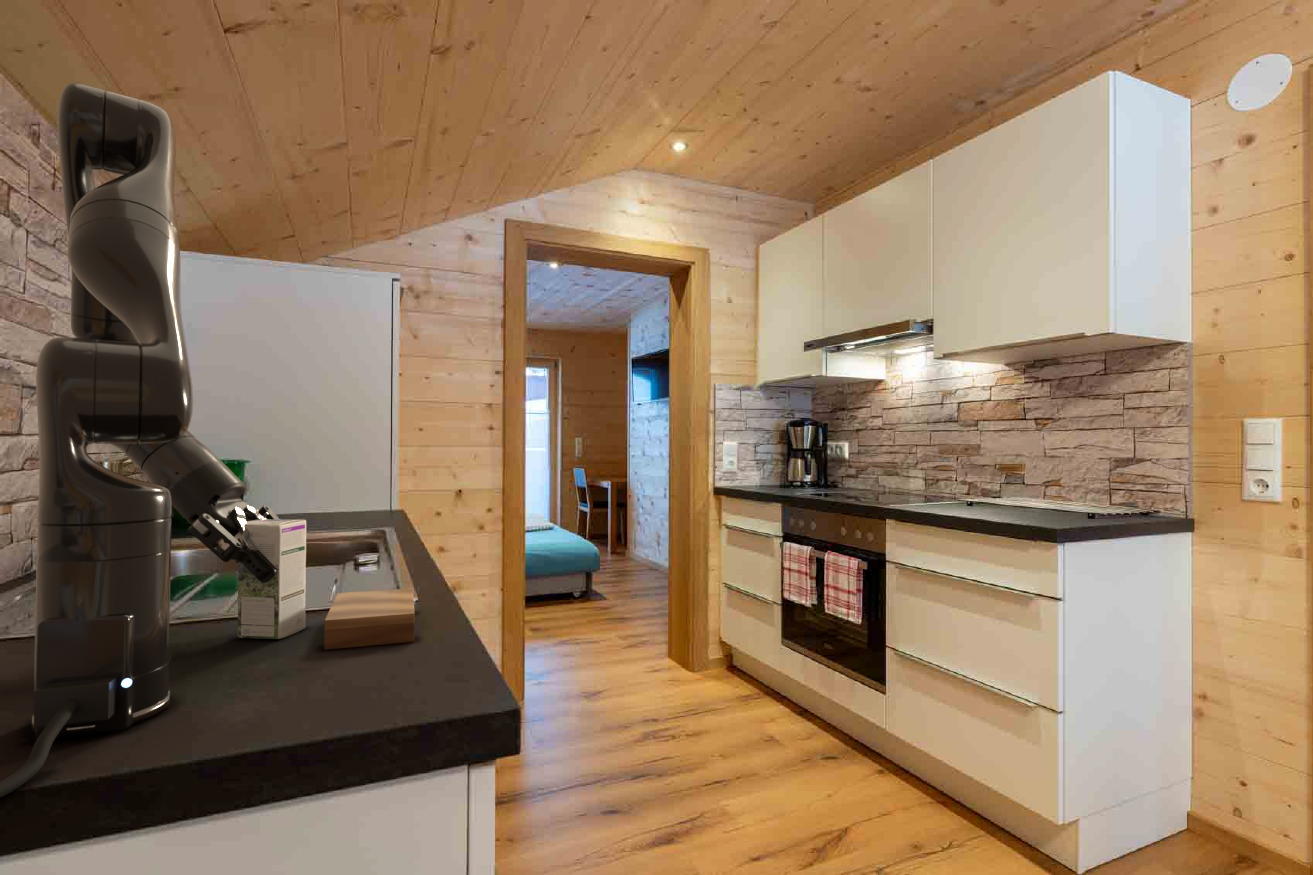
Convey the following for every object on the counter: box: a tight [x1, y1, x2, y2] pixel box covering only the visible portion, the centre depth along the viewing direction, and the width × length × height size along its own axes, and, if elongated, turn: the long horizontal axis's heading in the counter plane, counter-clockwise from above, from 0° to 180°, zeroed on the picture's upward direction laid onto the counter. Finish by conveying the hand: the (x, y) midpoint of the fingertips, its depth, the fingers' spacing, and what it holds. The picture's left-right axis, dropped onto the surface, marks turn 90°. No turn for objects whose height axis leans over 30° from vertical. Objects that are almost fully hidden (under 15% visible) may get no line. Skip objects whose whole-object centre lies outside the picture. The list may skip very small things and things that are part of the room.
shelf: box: [323, 587, 416, 651], centre depth 88 cm, size 16×10×4 cm, turn 21°
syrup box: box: [237, 518, 307, 640], centre depth 86 cm, size 6×6×14 cm
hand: (286, 572), depth 86 cm, fingers closed on syrup box, 6 cm apart
